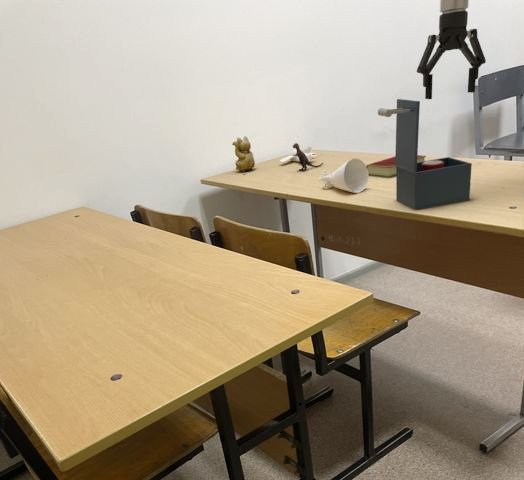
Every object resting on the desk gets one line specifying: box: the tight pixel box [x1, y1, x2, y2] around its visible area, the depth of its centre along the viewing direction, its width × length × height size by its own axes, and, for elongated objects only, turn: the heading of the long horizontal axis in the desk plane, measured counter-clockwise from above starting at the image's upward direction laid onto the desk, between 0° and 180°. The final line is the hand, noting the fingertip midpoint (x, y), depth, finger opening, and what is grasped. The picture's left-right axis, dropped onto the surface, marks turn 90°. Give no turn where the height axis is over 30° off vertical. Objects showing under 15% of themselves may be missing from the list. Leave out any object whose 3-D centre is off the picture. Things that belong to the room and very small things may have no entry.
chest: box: [395, 156, 473, 211], centre depth 163 cm, size 18×14×11 cm
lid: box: [377, 98, 421, 172], centre depth 155 cm, size 19×14×8 cm
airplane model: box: [278, 146, 317, 163], centre depth 248 cm, size 20×20×8 cm
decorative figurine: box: [231, 135, 256, 173], centre depth 245 cm, size 10×8×15 cm
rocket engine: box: [318, 157, 370, 194], centre depth 192 cm, size 12×12×18 cm
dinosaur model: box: [292, 142, 324, 172], centre depth 231 cm, size 4×12×15 cm
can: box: [422, 159, 444, 171], centre depth 163 cm, size 6×6×11 cm
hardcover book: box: [365, 154, 427, 179], centre depth 208 cm, size 12×21×4 cm, turn 127°
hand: (449, 95), depth 158 cm, fingers open, 13 cm apart
